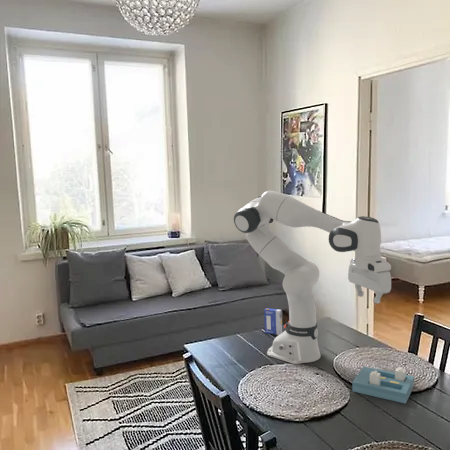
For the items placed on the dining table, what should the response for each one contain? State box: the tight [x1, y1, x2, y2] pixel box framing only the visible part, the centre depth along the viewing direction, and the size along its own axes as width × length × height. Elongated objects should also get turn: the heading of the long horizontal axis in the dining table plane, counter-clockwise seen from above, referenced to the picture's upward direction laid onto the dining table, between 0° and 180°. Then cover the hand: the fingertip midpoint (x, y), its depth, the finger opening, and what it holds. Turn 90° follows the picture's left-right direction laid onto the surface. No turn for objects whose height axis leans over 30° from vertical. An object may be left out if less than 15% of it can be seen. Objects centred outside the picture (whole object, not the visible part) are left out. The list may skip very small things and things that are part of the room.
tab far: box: [394, 366, 407, 382], centre depth 164 cm, size 3×3×5 cm
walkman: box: [263, 307, 283, 336], centre depth 220 cm, size 8×3×12 cm, turn 64°
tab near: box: [370, 371, 381, 386], centre depth 162 cm, size 3×3×5 cm
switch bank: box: [351, 366, 415, 404], centre depth 164 cm, size 18×14×4 cm
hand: (368, 299), depth 166 cm, fingers open, 8 cm apart
